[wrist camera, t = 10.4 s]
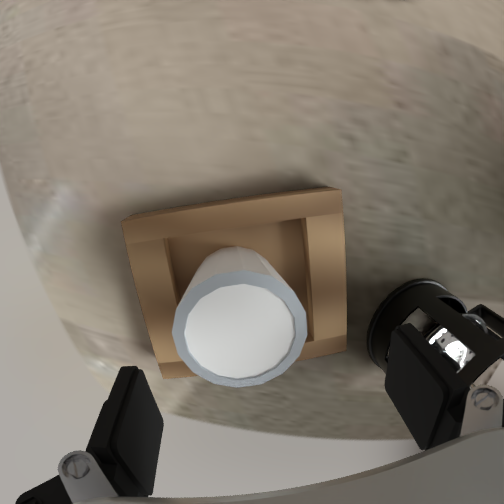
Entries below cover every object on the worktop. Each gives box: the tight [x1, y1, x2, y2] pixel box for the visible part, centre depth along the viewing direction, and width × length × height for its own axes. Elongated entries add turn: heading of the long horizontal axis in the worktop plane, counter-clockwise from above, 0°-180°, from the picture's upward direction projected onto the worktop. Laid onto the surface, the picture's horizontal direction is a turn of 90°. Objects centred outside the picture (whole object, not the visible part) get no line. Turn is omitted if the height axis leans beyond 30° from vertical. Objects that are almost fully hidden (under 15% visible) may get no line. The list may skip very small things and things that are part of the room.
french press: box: [367, 279, 504, 402], centre depth 15 cm, size 12×9×23 cm
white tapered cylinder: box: [172, 246, 307, 388], centre depth 19 cm, size 7×7×7 cm
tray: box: [121, 187, 347, 379], centre depth 22 cm, size 12×14×2 cm
